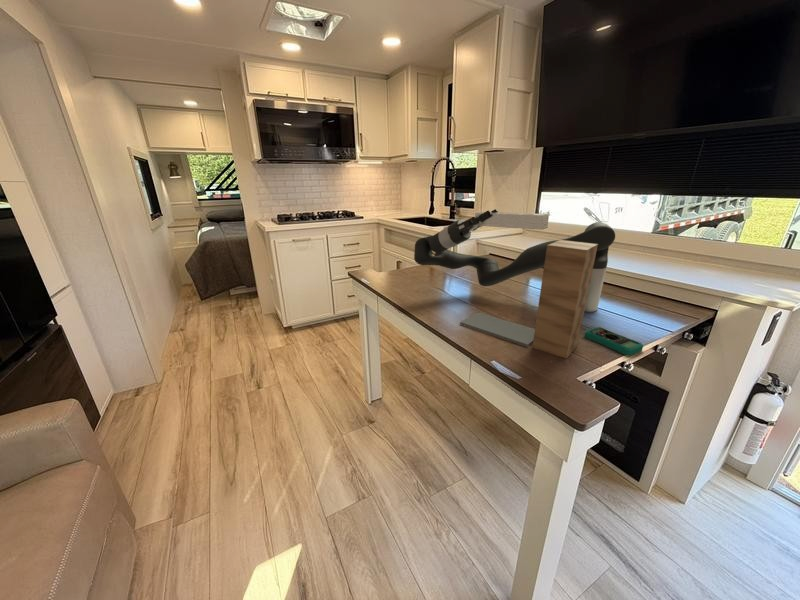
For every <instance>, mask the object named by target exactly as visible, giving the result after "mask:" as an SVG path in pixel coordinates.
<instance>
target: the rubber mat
mask: <svg viewBox="0 0 800 600" xmlns="http://www.w3.org/2000/svg"><path fill="white" fill-rule="evenodd" d="M460 324H462V325H461V326H463V325H465V326H464V327H466V326H467V327H466V328H469V327H470V328H469V329H472V328H473V329H472V330H475V331H478V332H482V333H485V334H487V335H491V336H494V337H496V338H498V339H502V340H505V341H508V342H510V343H514V344H516V345H519V346H522V347H526V348H529V347H530V346H531V345H533V339H534V332H535V328H532V327H529V326H525V325H522V324H519V323H515V322H512V321H509V320H505V319H503V318H498V317H495V316H492V315H490V314H489V315H488V314H486V313H482V312H476V313H474V314H472V315H470V316H468V317H467V318H465V319H463V320H461V321H460V322H459V325H460Z"/></svg>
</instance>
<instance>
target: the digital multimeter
mask: <svg viewBox="0 0 800 600" xmlns="http://www.w3.org/2000/svg"><path fill="white" fill-rule="evenodd" d="M584 338H586V339H588V340H590V341H593V342H596V343H598V344H599V345H602V346H604V347H607V348H609V349H612V350H613V351H616V352H617V353H620V354H622V355H625V356H627V357H629V356H634V355H636V354H638V353H640V352H641V351H643V348H644V344H643V343H641V342H639V341H636V340H634V339H631V338H629V337H627V336H626V337H625V336H624V335H623V336H622V335H620V334H618V333H615V332H614V331H613V332H612V331H610V330H608V329H606V328H604V327H601V326H597V327H593V328H590V329H587V330H586V331H585V332H584Z"/></svg>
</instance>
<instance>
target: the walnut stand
mask: <svg viewBox="0 0 800 600" xmlns="http://www.w3.org/2000/svg"><path fill="white" fill-rule="evenodd" d="M558 240H559V241H556V242H554V243H551V244H549V245H547V251H546V257H545V264H544V267H543V273H542V278H541V279H542V281H541V285H540V286H541V287H540V292H539V299H538V306H537V313H536V320H535V326H534V327H535V328H534V329H535V332H534V339H533V343H532V347H531V348H533V349H536V350H539V351H542V352H545V353H549V354H551V355H554V356H557V357H559V358H560V357H561V358H563V359H567V358H569V356H570V355H571V354H572V352H574V351H575V349H576V348H578V345H579V340H580V339H579V338H580V334H581V329H582V326H583V325H582V324H583V319H584V315H585V311H584V310H585V305H586V301H587V296H588V291H589V286H590V281H591V276H592V271H593V266H594V261H595V256H596V251H597V246H598V244H592V243H583V242H574V241H565V240H561V239H558Z"/></svg>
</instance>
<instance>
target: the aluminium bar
mask: <svg viewBox="0 0 800 600" xmlns="http://www.w3.org/2000/svg"><path fill="white" fill-rule="evenodd" d="M484 212H485V211H479V212H475V213H474V217H476V216H477V215H479V216H480V215H481V214H483V213H484ZM491 213H492V217H490V218H488V219H487V220H485V221H483V222H481V223H480V224H478V226H482V227H489V228H490V227H493V228H507V229H508V228H509V229H524V230H525V229H526V230H538V231H542V230H543V231H544V230H546V229H549V217H550V214H549V213H528V212H527V213H525V212H524V213H522V212H499V211H498V212H491Z"/></svg>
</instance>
